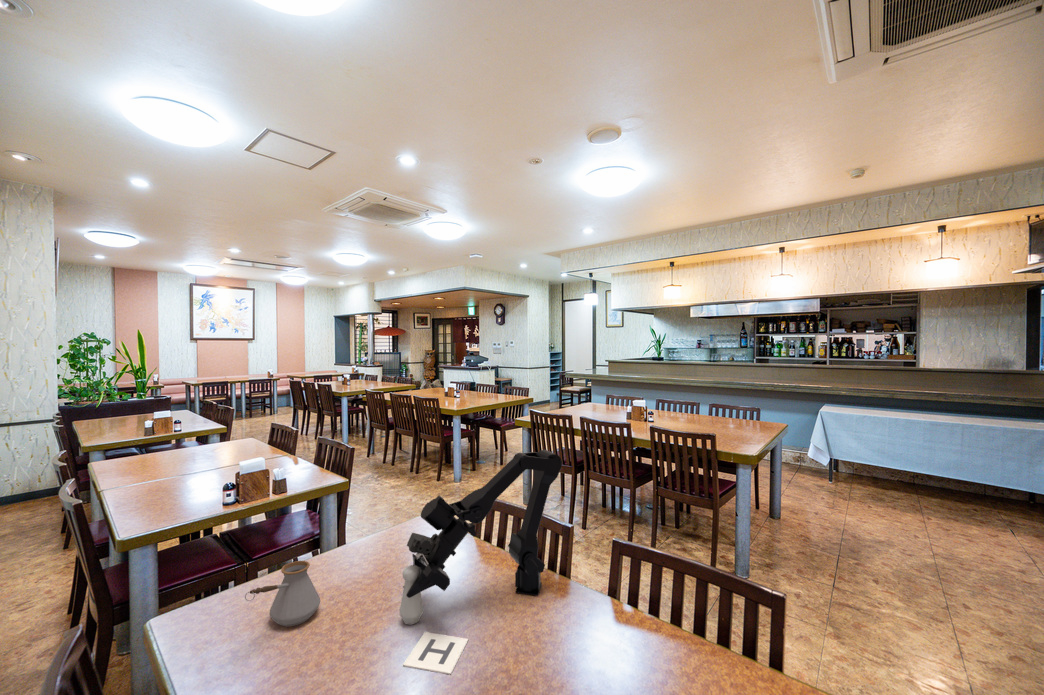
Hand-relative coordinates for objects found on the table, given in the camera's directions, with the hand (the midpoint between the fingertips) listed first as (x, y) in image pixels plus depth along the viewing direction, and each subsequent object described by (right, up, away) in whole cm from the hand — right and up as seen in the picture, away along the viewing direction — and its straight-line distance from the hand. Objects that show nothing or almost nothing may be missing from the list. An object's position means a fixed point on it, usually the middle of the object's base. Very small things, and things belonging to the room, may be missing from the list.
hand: (405, 592), depth 108 cm
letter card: (+10, -7, -11) cm, 16 cm away
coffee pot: (-29, -7, -3) cm, 31 cm away
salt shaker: (+1, -7, +1) cm, 7 cm away
